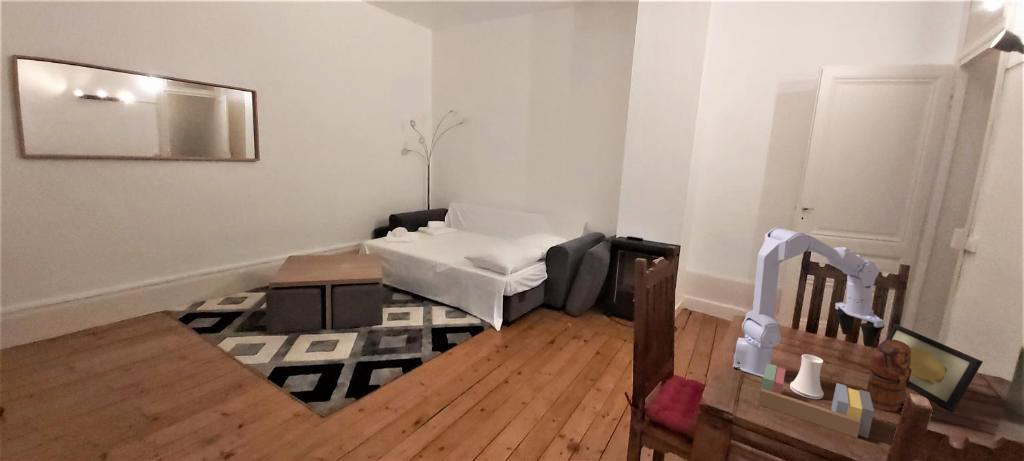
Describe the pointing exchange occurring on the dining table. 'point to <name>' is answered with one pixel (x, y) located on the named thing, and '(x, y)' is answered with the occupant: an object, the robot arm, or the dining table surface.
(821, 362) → the vase
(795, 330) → the dining table surface
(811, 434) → the dining table surface
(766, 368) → the book row
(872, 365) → the wooden figurine
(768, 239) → the robot arm
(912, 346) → the picture frame
